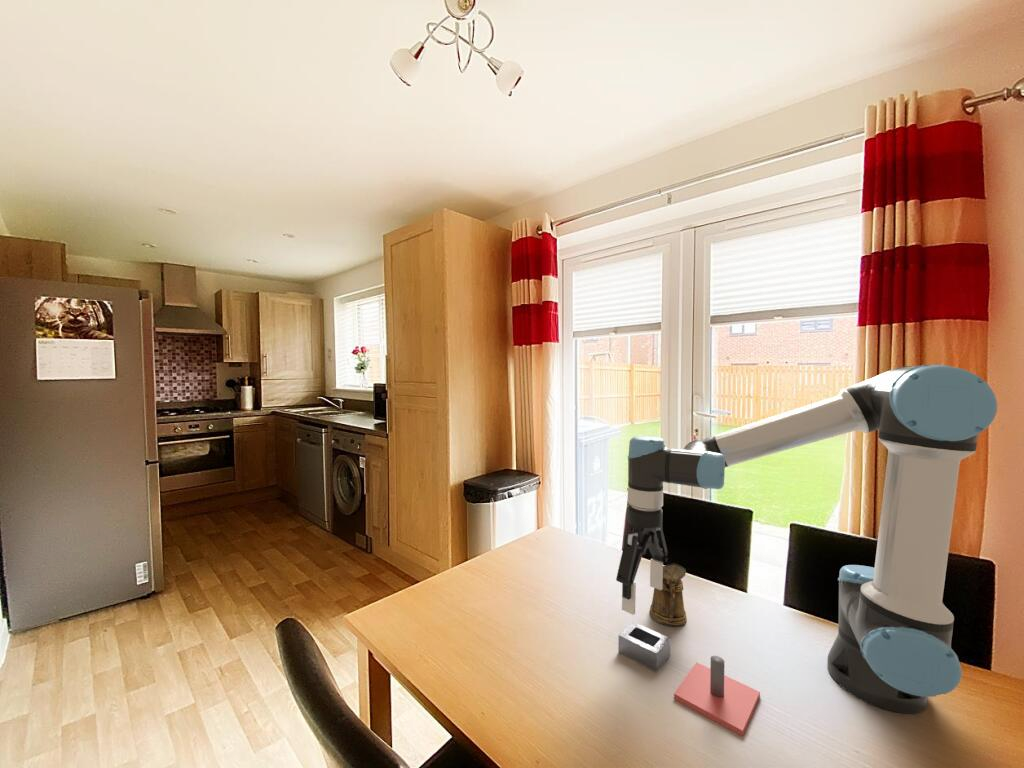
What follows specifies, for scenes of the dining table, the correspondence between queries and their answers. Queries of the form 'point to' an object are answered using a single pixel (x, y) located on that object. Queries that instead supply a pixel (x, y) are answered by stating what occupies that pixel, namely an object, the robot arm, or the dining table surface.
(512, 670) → the dining table surface
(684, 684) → the stand
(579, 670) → the dining table surface
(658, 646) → the link
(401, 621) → the dining table surface
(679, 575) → the wooden mug
